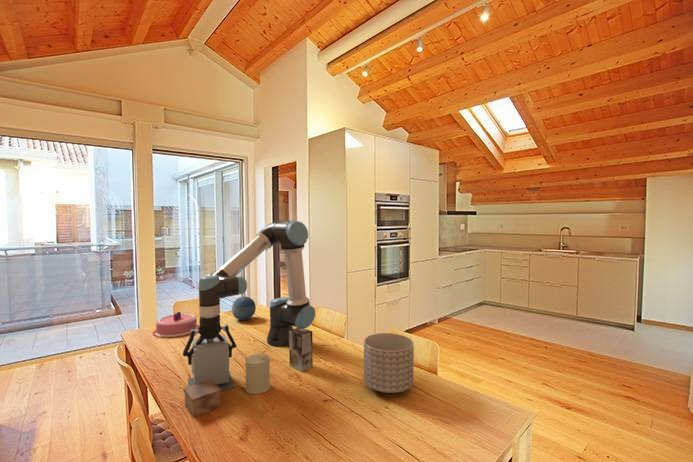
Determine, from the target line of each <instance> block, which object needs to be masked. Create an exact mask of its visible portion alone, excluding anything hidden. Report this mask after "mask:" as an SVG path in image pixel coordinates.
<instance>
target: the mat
mask: <svg viewBox="0 0 693 462" xmlns="http://www.w3.org/2000/svg"><path fill="white" fill-rule="evenodd" d="M232 377H233V376H232V375H231V372H230V371H229V382H227V383H222V384H217V385H218V386H219V387H220V388H221V389H222V391H227V390H232V389H235V388H236V386H235V384H234V380H233V378H232ZM187 384H188V385H187V387H189V386H192V385H194V378H193V377H190V378H187Z"/></svg>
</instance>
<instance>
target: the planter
mask: <svg viewBox="0 0 693 462" xmlns="http://www.w3.org/2000/svg"><path fill="white" fill-rule="evenodd" d="M414 344H415V343H414V340H412V339H411V338H410V337H408V336H405V335H404V334H403V335H402V334H399V333H391V332H379V333H375V334H371V335H370V334H369V335H368V336H366V337H365V338H364V339H363V382H364V383H365V385H366V386H367V387H368V388H370V389H371V390H375V391H377V392H381V393H385V394H396V393H397V394H398V393H403V392H405V391H407V390H410V389H411V388H412V387H413V385H414V376H415V375H414V369H415V368H414V367H415V365H414V361H415V360H414V358H415V357H414V355H415V353H414V352H415V350H414V349H415V345H414Z"/></svg>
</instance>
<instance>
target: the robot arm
mask: <svg viewBox="0 0 693 462" xmlns="http://www.w3.org/2000/svg"><path fill="white" fill-rule="evenodd" d="M308 239H309V230H308V228H307V226H306V225H305V224H304V223H303V221H299V220H298V221H296V220H276V221H273V222H271V223H269V224H268V225H266V226H265V227H264V228H262V229H261V230H259V231H258V232H257V233H256V234H255V238H254V239H252V240H251V241H250V242H249V243H248V244H247V245H245V246H244V247H243V248H242V249H241V250H239V251H238V252H237V253H236V254H234V256H233V257H231V258H230V259H229V260H228V261H226V262H225V263H224V264H223V265H222V266H221V267H219V269H217V270H215V271H214V272H211V273H207V274H206V275H203V276H201V277H200V278H199V280H198V303H199V304H198V311H199V313H198V315H199V319H198V320H199V326H200V327H199V330H194V329H192V330H191V334H189V337H188V340H187V342H186V344H185V347H184V348H183V351H182V356H183V357H187V363H188V364H187V365H188V366H191V374H192V375H193V374H194V356H193V353H194V350H193V346H192V347H191V345H192V344H193V339H195V336H197V334H199V335H200V336H199V337H198V338H197V339H198V340H197V342H196V343H195V345H200V344H201V342H203V340H204V339H206V340H208V339H215V338H216V337H217V338H218V339H219V340H220V341H225V340H224V338H223V337H222V336H221V335H222V334H221V333H220V332H221V331H223V332H225V333H226V335H227V337H228V340H229V342H230V343H231V344H230V343H229V342H228V344H229V359H230V358H232V356H233V349H235V348H237V344H236V342H235V340H234V338H233V336H232V334H231V332H230V329H229V325H228V324H227V323H226V324H225V325H221V315H220V314H221V305H220V304H221V302H220V301H221V299H223V298H229V297H234V296H239V295H243V294H245V292H246V291H247V289H248V282H247V280H246V278H245V277H243V276H241V275H239V274H240V273H241V272H242V271H243V270H244V269H245V268H247V267H248V266H249V265H250V264H251V263H252V262H253V261H254V260H255V259H257V257H259V256H260V255H261V254H262V253H263V252H265V250H267V249H271V248H272V247H273V246H275V245H277V244H279V245H280V250H281V251H282V252H283V253H284V262H285V272H286V281H287V290H288V291H287V293H288V296H283V297H276V298H273V299H271V301H270V302H269V303H270V304H269V321H270V322H269V325H270V326H269V331H268V334H267V336H266V343H267V344H268V345H270V346H274V347H286V346H289V331H290V330H293V329H294V327H295V328H299V327H301V328H304V329H308V328H309V327H310V326H311V325H312V324H313V323H314V321H315V317H316V310H315V308H314V306H313V305H311V300H310V298H309V297H308V296H307V291H306V282H305V273H304V261H303V252H302V251H303V249H304V248H305V244H306V243H307V242H308ZM238 275H239V276H238Z"/></svg>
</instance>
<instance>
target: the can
mask: <svg viewBox="0 0 693 462" xmlns="http://www.w3.org/2000/svg"><path fill="white" fill-rule="evenodd" d="M270 362H271V356H269V355H268V354H266V353H255V354H252V355H249V356H247V357H246V358H245V391H246V392H247V393H249V394H251V395H258V394H262V393H266V392H267V391H268V390H269V389H270V388H271V381H270V380H271V379H270V375H271V373H270V371H271V369H270V365H271V363H270Z"/></svg>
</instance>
